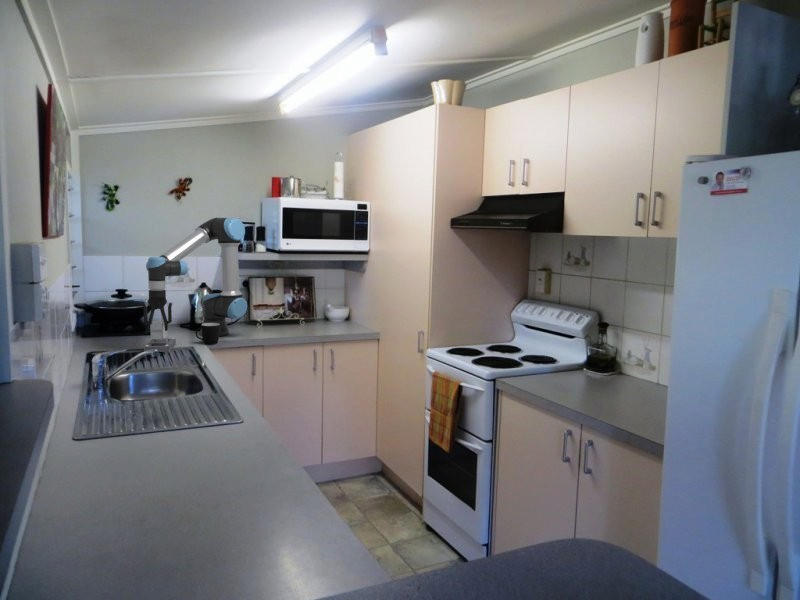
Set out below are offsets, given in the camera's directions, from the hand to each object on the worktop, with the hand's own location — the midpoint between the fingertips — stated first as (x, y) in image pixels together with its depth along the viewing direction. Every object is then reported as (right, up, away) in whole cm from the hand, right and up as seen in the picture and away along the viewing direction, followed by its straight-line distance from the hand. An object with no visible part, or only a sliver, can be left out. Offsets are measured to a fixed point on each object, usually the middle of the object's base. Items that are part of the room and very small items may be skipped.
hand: (158, 337), depth 284 cm
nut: (0, 0, 0) cm, 0 cm away
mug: (+17, -5, +21) cm, 27 cm away
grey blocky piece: (-1, -6, +6) cm, 8 cm away
